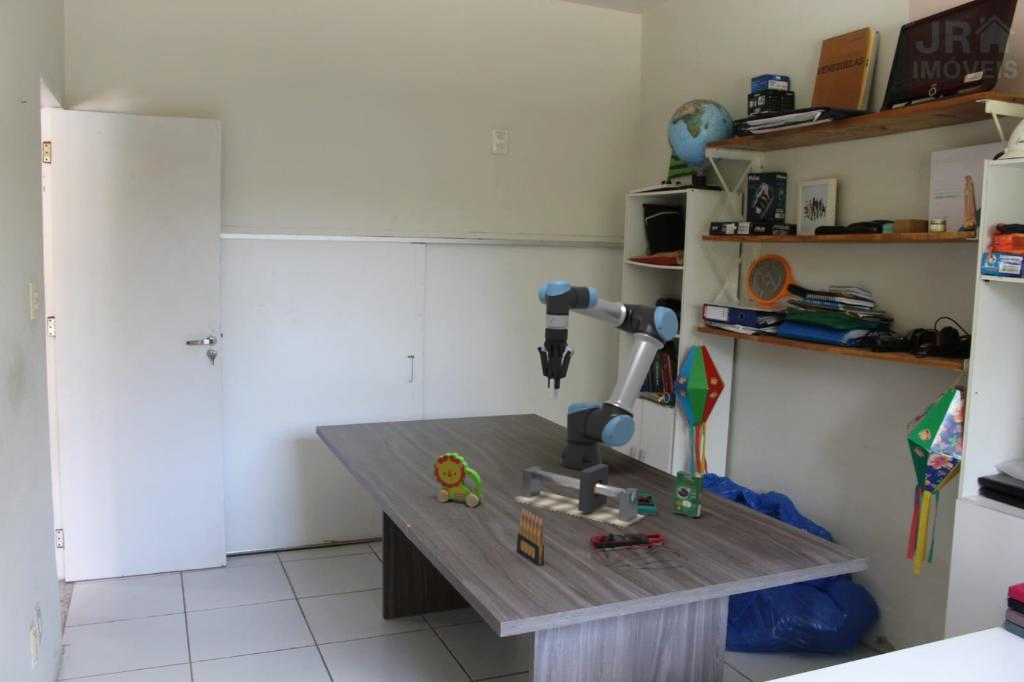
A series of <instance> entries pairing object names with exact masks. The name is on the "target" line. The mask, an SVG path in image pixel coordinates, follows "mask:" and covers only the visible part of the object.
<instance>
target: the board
mask: <svg viewBox="0 0 1024 682" xmlns="http://www.w3.org/2000/svg"><path fill="white" fill-rule="evenodd" d="M513 501H514V502H516V501H517V503H520V502H522V503H521V504H524V503H526V504H525V505H528V504H530V505H529V506H532V505H533V507H536V506H537V507H536V508H540V507H541V509H544V508H545V510H548V509H550V510H549V511H552V510H554V511H553V512H556V511H558V512H557V513H560V512H561V513H562V514H564V513H566V514H565V515H568V514H570V515H569V516H572V515H575V516H574V517H576V516H578V517H577V518H580V517H583V518H582V519H584V518H587V519H586V520H588V519H592V520H596V521H600V522H606V523H610V524H615V525H619V526H623V527H627V526H628V525H630V524H632V523H634V522H636V521H638V520H639V519H641V518H643V517H644V518H645V515H640V514H637V518H635V519H633V520H631V521H629V522H625V521H620V520H618V519H619V508H613V507H609V506H607V505H602V506H600V507H598V508H596V509H594V510H592V511H590V512H583V511H578V508H579V499H577V498H571V497H569V496H563V495H558V494H557V493H556V494H555V493H551V492H547V491H543V490H541V491H540V494H539V495H537V496H534V497H532V498H527V497H523V496H522V494H520V495H517V496H515V497H514V498H513ZM561 513H560V514H561ZM592 520H591V521H592ZM596 521H595V522H596ZM600 522H599V523H600Z"/></svg>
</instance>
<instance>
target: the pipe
mask: <svg viewBox="0 0 1024 682" xmlns="http://www.w3.org/2000/svg"><path fill="white" fill-rule="evenodd" d="M542 482H546V483H550V484H555V485H559V486H563V487H568V488H572V489H576V490H579V489H580V478H575V477H571V476H567V475H561V474H558V473H554V472H548V471H545V470H542V467H538V466H530V467H528V468H525V469H523V470H522V488H521V491H522V492H521V495H522V496H523V497H527V498H532V497H534V496H537V495H539V494H540V491H542V490H541V489H542V486H541V485H542ZM639 491H640V489H639V488H633V487H628V488H621V487H616V486H612V485H609V484H608V485H603V484H600V483H599V482H595V483H594V494H602V495H606V496H607V497H611V498H616V499H618V500H619V505H618V509H619V519H618V520H620V521H625V522H629V521H631V520H633V519H635V518H637V508H638V494H639Z"/></svg>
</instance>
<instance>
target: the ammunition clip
mask: <svg viewBox="0 0 1024 682" xmlns="http://www.w3.org/2000/svg"><path fill="white" fill-rule="evenodd" d="M543 527H544V523H543V519H542V517H540V518H539V516H538V515H536V516H535V514H534V513H533V514H532V512H531V511H528V509H526V510H525V508H524V507H522V509H521V511H520V520H519V527H518V533H517V538H516V539H517V540H516V553H518V554H519V555H520V556H522V555H523V556H522V557H524V558H525V559H527V560H528V559H529V560H528V561H529V562H531V561H532V562H533V563H532V562H531V563H532V564H534V563H535V564H536V566H537V565H539V566H543V564H544V563H545V562H544V561H545V559H544V558H545V545H544V528H543ZM535 564H534V565H535Z"/></svg>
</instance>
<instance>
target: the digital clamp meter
mask: <svg viewBox="0 0 1024 682" xmlns="http://www.w3.org/2000/svg"><path fill="white" fill-rule="evenodd" d="M649 538H657V539H651V540H649ZM664 540H665V538H664V534H662V533H659V532H656V533H655V532H654V533H652V532H651V533H641V532H638V533H625V534H624V533H620V534H614V533H612V532H610V533H609V534H607V535H606V534H605V533H601V534H600V535H594V536H593V535H592V536H591V537H590V544H589V545H591V546H592V547H593V548H592V549H593V550H594V551H595V553H596V555H597V557H599V559H600V560H601V561H602V563H604V564H605V563H607V562H606V561H605V560H604V559H603V558H602V556H601V555H600V554H599V553H598V552H599V551H596V549H603V548H604V554H605V556H606V558H607V559H610V558H609V556H608V554H607V552H606V551H605V548H615V547H621V546H630V547H627V548H626V549H623V551H622V552H621V554H620V555H619V556H618V557H617V559H618V560H619V559H620V558H621V557H622V556H623V555H624V553H625V552H626V550H629V549H628V548H631V547H635V546H644V545H645V546H658V547H662V548H664V549H668V550H672V549H674V550H676V551H677V550H678V551H677V552H680V551H681V550H680V549H677V548H672V547H670V548H668V547H669V546H664V547H663V545H662V546H659V545H653V543H659V542H662V541H663V542H664ZM641 544H642V545H641ZM633 545H635V546H633ZM591 546H590V547H591ZM595 548H596V549H595ZM655 548H656V547H653V548H652V549H650V550H648V551H647V552H645V553H644V554H646V555H648V554H649V553H650V551H651V552H653V551H654V550H655ZM653 549H654V550H653ZM674 550H673V551H674Z"/></svg>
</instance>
